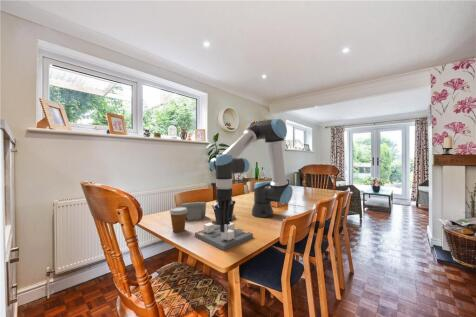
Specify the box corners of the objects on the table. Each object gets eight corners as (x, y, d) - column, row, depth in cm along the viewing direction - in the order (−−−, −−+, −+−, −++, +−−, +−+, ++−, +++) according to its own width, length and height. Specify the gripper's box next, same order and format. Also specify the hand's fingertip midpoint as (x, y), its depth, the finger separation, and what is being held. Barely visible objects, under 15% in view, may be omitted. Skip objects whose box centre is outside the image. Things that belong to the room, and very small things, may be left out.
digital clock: (206, 215, 140) (206, 200, 139) (205, 220, 131) (205, 203, 130) (182, 216, 138) (182, 201, 138) (179, 220, 129) (179, 204, 129)
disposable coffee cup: (165, 232, 110) (165, 210, 110) (176, 226, 119) (176, 205, 119) (180, 234, 107) (180, 211, 107) (190, 228, 116) (190, 207, 116)
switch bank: (223, 226, 118) (223, 223, 118) (252, 237, 103) (252, 233, 103) (194, 236, 104) (194, 232, 104) (223, 250, 89) (223, 246, 89)
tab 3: (229, 236, 99) (229, 229, 99) (234, 238, 97) (234, 230, 97) (222, 238, 96) (222, 231, 96) (228, 240, 94) (228, 233, 94)
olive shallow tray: (225, 217, 138) (225, 212, 138) (235, 219, 134) (235, 214, 134) (211, 224, 124) (211, 218, 124) (222, 226, 120) (222, 221, 120)
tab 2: (229, 228, 109) (229, 222, 109) (234, 230, 107) (234, 223, 107) (224, 230, 106) (224, 223, 106) (228, 232, 104) (228, 225, 104)
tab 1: (209, 229, 108) (209, 222, 108) (214, 230, 106) (214, 224, 106) (203, 231, 105) (203, 224, 105) (207, 233, 103) (207, 226, 103)
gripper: (228, 185, 101) (228, 232, 102) (207, 188, 92) (208, 240, 92) (239, 187, 96) (239, 236, 97) (218, 190, 87) (219, 245, 87)
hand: (224, 238), depth 94 cm, fingers closed
